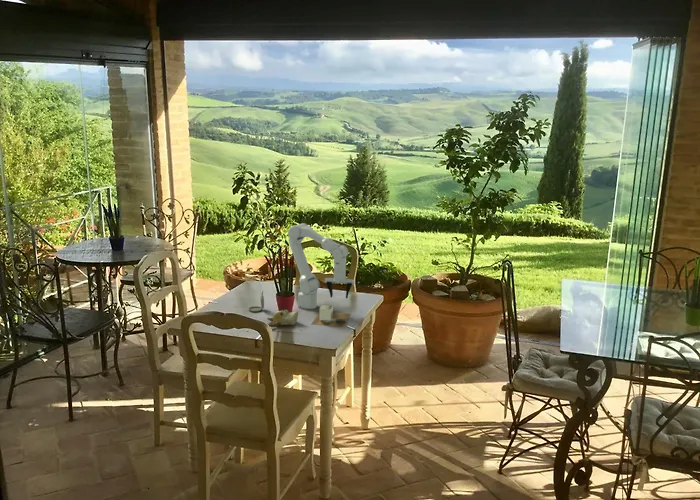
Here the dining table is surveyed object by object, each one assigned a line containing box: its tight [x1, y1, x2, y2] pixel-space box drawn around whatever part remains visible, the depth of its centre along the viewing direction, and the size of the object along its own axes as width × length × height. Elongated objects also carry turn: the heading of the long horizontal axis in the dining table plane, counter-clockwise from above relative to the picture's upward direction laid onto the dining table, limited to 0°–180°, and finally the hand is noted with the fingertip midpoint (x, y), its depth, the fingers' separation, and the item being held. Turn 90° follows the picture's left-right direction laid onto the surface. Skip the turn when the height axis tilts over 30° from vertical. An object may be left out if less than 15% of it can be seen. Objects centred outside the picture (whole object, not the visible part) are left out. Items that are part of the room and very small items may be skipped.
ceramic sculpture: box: [266, 308, 299, 328], centre depth 271 cm, size 11×9×15 cm
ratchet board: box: [311, 310, 351, 328], centre depth 278 cm, size 16×19×6 cm
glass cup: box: [248, 290, 265, 313], centre depth 291 cm, size 8×8×10 cm
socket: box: [319, 304, 334, 321], centre depth 274 cm, size 5×5×6 cm
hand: (339, 297), depth 286 cm, fingers open, 7 cm apart
